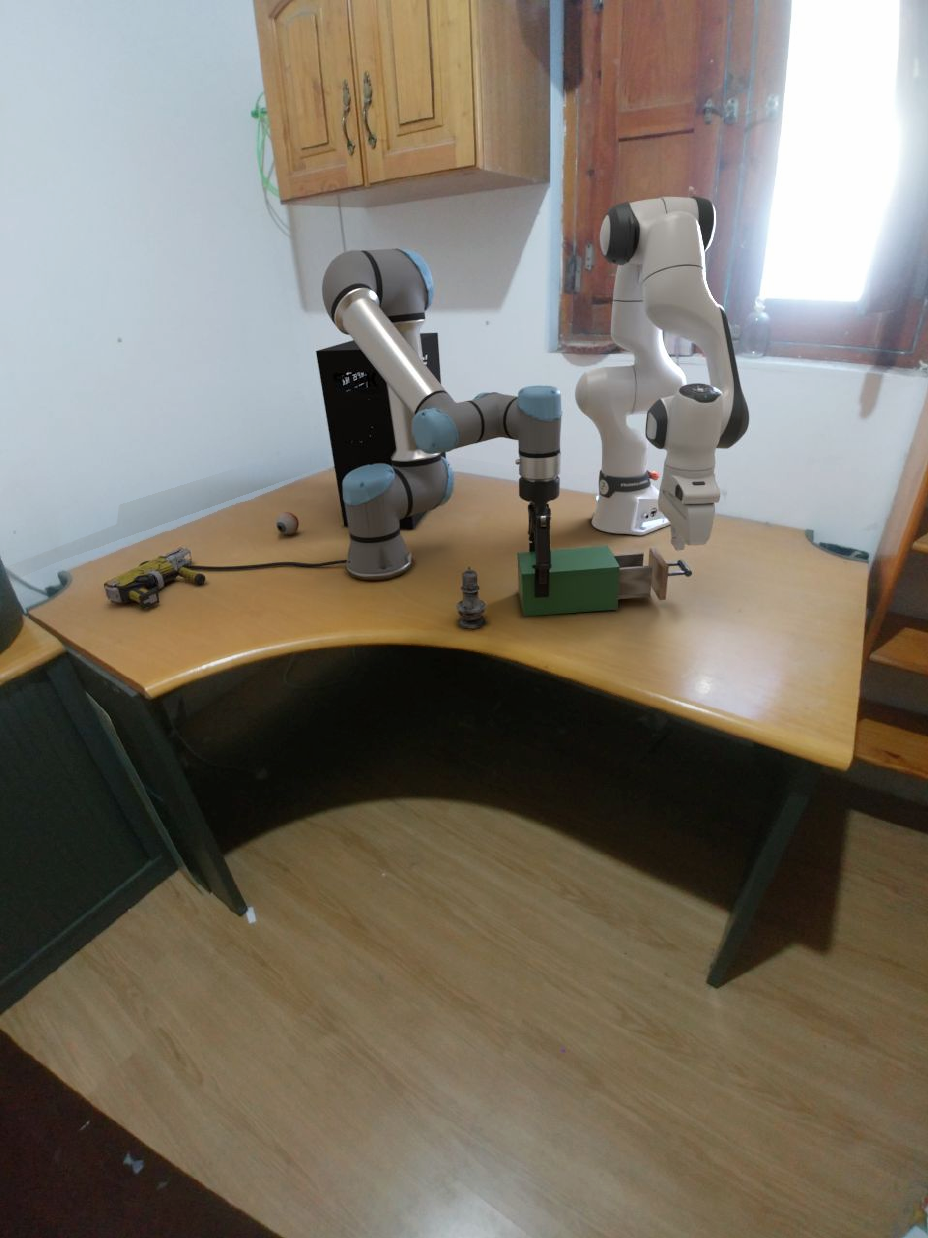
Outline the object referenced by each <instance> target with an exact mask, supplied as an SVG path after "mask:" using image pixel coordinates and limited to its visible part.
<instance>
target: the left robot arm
mask: <svg viewBox="0 0 928 1238" xmlns="http://www.w3.org/2000/svg"><path fill="white" fill-rule="evenodd" d="M321 283H322V284H321V295H322V301H323V305H324V307H325V311H326V313H327V315H328V317H329V319H330V320H331V321H332V323H333V324H334V325H335V327H336V328H337V329H338V331H339V332H340V333H342V334H343V335H347V336H350V337H351V339H352V340H354V341H355V342H356V344H357V345H358V346H359V348H360V349H361V350H362V351H363V353H364V354H365V355H366V357H367V358H368V359H369V361H370V362H371V363H372V364H373V366H374V367H375V368H376V370H377V371H378V372H379V373H380V375H381V376H382V377H383V379H384V380H385V381H386V383H387V389H388V396H389V403H390V410H391V417H392V423H393V430H394V437H395V444H396V450H395V452H394V453H393V455H392V456H391V461H392V467H391V466H390V465H388V464H382V463H378V464H373V465H366V466H362V467H359V468H357V469H355V470H353V471H351V472H349V473H348V474H347V475H346V476H345V478H344V480H343V500H344V503H345V509H346V515H347V521H348V526H347V527H348V532H349V540H350V541H349V547H348V553H347V558H346V559H341V560H340V559H339V560H331V561H325V562H318V563H317V562H316V563H307V562H297V561H278V562H277V561H275V562H267V563H259V564H247V565H230V566H229V565H226V566H209V565H196V564H195V565H192V564H186V565H185V564H184V565H183V566H182V567H184V568H187V569H191V570H192V569H193V570H206V571H207V570H209V571H229V570H230V571H231V570H232V571H233V570H245V569H247V570H249V569H259V568H269V567H277V566H278V567H279V566H296V567H297V566H298V567H306V568H319V567H326V566H330V565H331V566H333V565H340V564H346V572H347V574H348V575H349V576H350V577H352V578H354V579H356V580H359V581H366V582H379V581H387V580H391V579H394V578H397V577H401V576H402V575H404V574H406V573H407V572H408V571H409V570H410V569H411V567H412V564H413V563H412V551H410V552H409V550H408V548H407V545H406V544H405V541H404V539H403V536H402V534H401V528H400V524H399V520H400V519H403V518H406V517H409V516H412V515H415V514H418V513H421V512H424V511H427V512H429V511H433V510H435V509H437V508H439V507H441V506H443V505H445V504H447V503H448V502H449V500H450V499H451V497H452V495H453V493H454V488H455V474H454V470H453V467H450V465H451V464H450V462H449V460H448V459H447V458H446V459H445V458H444V457H441V453H442V452H446V453H448V452H451V451H453V450H456V449H460V448H463V447H467V446H471V445H475V444H476V445H477V444H479V443H483V442H487V441H491V440H494V439H498V438H504V439H509V440H512V441H513V440H514V441H517V443H518V444H517V445H518V458H517V459H515V465H518V474H519V476H520V477H519V479H518V496H519V498H520V499H521V500H523V501H525V502H528V504H527V513H528V525H527V526H528V529H527V535H528V541H529V542H528V552H532V551H535V555H536V564H535V565H532V569H535V598H538V597H549V569H551V566H552V565H551V550H552V549H551V548H552V547H551V520H552V517H551V516H552V510H551V507H550V504H549V502H551V501H555V500H556V499H558V498H559V496H560V490H561V488H560V487H561V486H560V485H561V484H560V483H561V477H559V475H560V474H561V459H562V457H561V456H562V452H561V433H562V432H561V431H562V416H563V410H562V409H563V408H562V394H561V391H560V389H559V388H557V386H552V385H530V386H525V387H522V388H521V389H519V391H518V393H517V396H516V395H511V394H504V393H499V392H497V391H494V392H493V391H492V392H481V393H478V394H477V395H476V396H475V397H473V399H470V400H464V401H460V402H457V401H455V400H454V398H453V397H452V396H451V395H450V394H449V393H448V391H447V390H446V389H445V388H444V387H443V385H442V383H441V384H440V383H439V382H438V380H437V379H436V378H435V377H434V375H433V374H432V373H431V371H430V370H429V369H428V368H427V366H426V365H425V364H426V363H425V362H423V360H424V357H423V355H422V347H421V338H420V333H421V328H422V327H423V326H424V324H425V322H426V312H427V310H428V309H429V308H430V307H431V306H432V304H433V300H432V299H434V296H435V285H434V280H433V275H432V273H431V270H430V268H429V265H428V264H427V262H426V260H425V259H424V258H423V257H422V256H421V255H420V254H419V253H418V252H416V251H414V250H412V249H403V248H399V247H398V248H384V249H382V248H381V249H367V250H365V249H363V250H359V249H354V250H351V249H350V250H347V251H344V252H342V253H340V254H339V255H337V256H336V257H334V258H333V259H332V260H331V261H330V263H329V264H328V266H327V268H326V269H325V272H324V276H323V278H322V282H321ZM149 561H150V560H145V561H143V562H141V563H140V564H139V565H138V567H139V566H141V565H143V564H145V563H147V562H149ZM182 567H181V568H182Z"/></svg>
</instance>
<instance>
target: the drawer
mask: <svg viewBox="0 0 928 1238" xmlns="http://www.w3.org/2000/svg"><path fill="white" fill-rule="evenodd" d="M613 556H614V558H615V559H616V561H617V563H618V565H619V567H620V569H619V588H618V600H625V599H636V598H650V597H651V594H652V593H651V592H652V590H653V592H654V594H655V595H656V597H657V599H658V600H659V601H666V599H667V592H668V591H667V589H668V588H667V587H668V579H669V577H672V576H673V577H676V576H685V577H687V578H689V577H691V576H692V575H693V572H692V570H691V568H689V566H688V564H687V563H686V562H685V560H683V559H678V560H677V561H672V562H667V561H666V560H665V559H664V557H663V556H662V554H661V553H660V552H659V550H658V549H657V548H656V547H649V551H648V562H647V565H644V556H645V554H644V552H643V551H641V552H640V551H639V552H628V553H615V554H613ZM670 567H678V568H679V569H680V571H669V568H670Z"/></svg>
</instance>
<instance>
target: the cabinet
mask: <svg viewBox="0 0 928 1238" xmlns="http://www.w3.org/2000/svg"><path fill="white" fill-rule="evenodd" d="M516 555H517V556H516V557H517V558H516V559H517V582H518V583H517V585H518V596H519V601H520V607H521V611H522V612H521V613H522V616H523V617H535V616H547V615H549V616H550V615H561V614H574V613H590V612H601V611H615V610H618V605H619V599H618V588H619V569H620V567H619V565H618V563H617V561H616V559H615V558H614V556H613V555H614V554H613V552H612V550H611V549H610V547H609V545H598V546H596V545H595V546H585V547H583V546H582V547H571V548H560V549H559V548H558V549H551V565H552V566H551V569H549V597H538V598H535V569H532V565H535V564H536V555H535V551H532V552H529V551H522V552H521V551H520V552H517V553H516Z"/></svg>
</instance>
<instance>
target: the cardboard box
mask: <svg viewBox="0 0 928 1238" xmlns="http://www.w3.org/2000/svg"><path fill="white" fill-rule="evenodd" d="M420 338H421V347H422V355H423V363H424V364H425V365H426V366H427V368H428V369H429V370H430V371H431V373H432V374H433V375H434V377H435V378H436V379H437V380H438V382H439V383H440V384H441V385H442V377H441V376H442V375H441V361H440V345H439V333H438V332H420ZM315 355H316V360H317V367H318V373H319V379H320V386H321V391H322V398H323V404H324V411H325V417H326V422H327V428H328V435H329V441H330V442H329V443H330V448H331V454H332V459H333V460H332V461H333V467H334V472H335V478H336V479H335V480H336V485H337V493H338V497H339V503H340V509H341V516H342V523H343V527H348V521H347V515H346V509H345V503H344V500H343V480H344V478H345V476H346V475H347V474H348V473H349V472H351V471H353V470H355V469H357V468H359V467H362V466H366V465H373V464H378V463H382V464H388V465H390V466H391V467H392V461H391V456H392V455H393V453H394V452H395V450H396V444H395V437H394V430H393V423H392V417H391V410H390V403H389V396H388V389H387V383H386V381H385V380H384V379H383V377H382V376H381V375H380V373H379V372H378V371H377V370H376V368H375V367H374V366H373V364H372V363H371V362H370V361H369V359H368V358H367V357H366V355H365V354H364V353H363V351H362V350H361V349H360V348H359V346H358V345H357V344H356V342H355V341H354V340H353V339H352V340H349V341H346V342H342V343H339V344H335V345H332V346H329V347H325V348H322V349H318V350H315ZM446 453H447V452H442V453H441V457H444V458H445V459H446V460H447V454H446ZM427 512H428V511H424V512H421V513H418V514H415V515H412V516H409V517H406V518H403V519H400V520H399V524H400V530H403V529H404V530H414V529H415V528H416V526H417V525H418V524H419V522H420V521H421V520H422V519H423V518H424V516H425V515H426V514H427Z"/></svg>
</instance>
